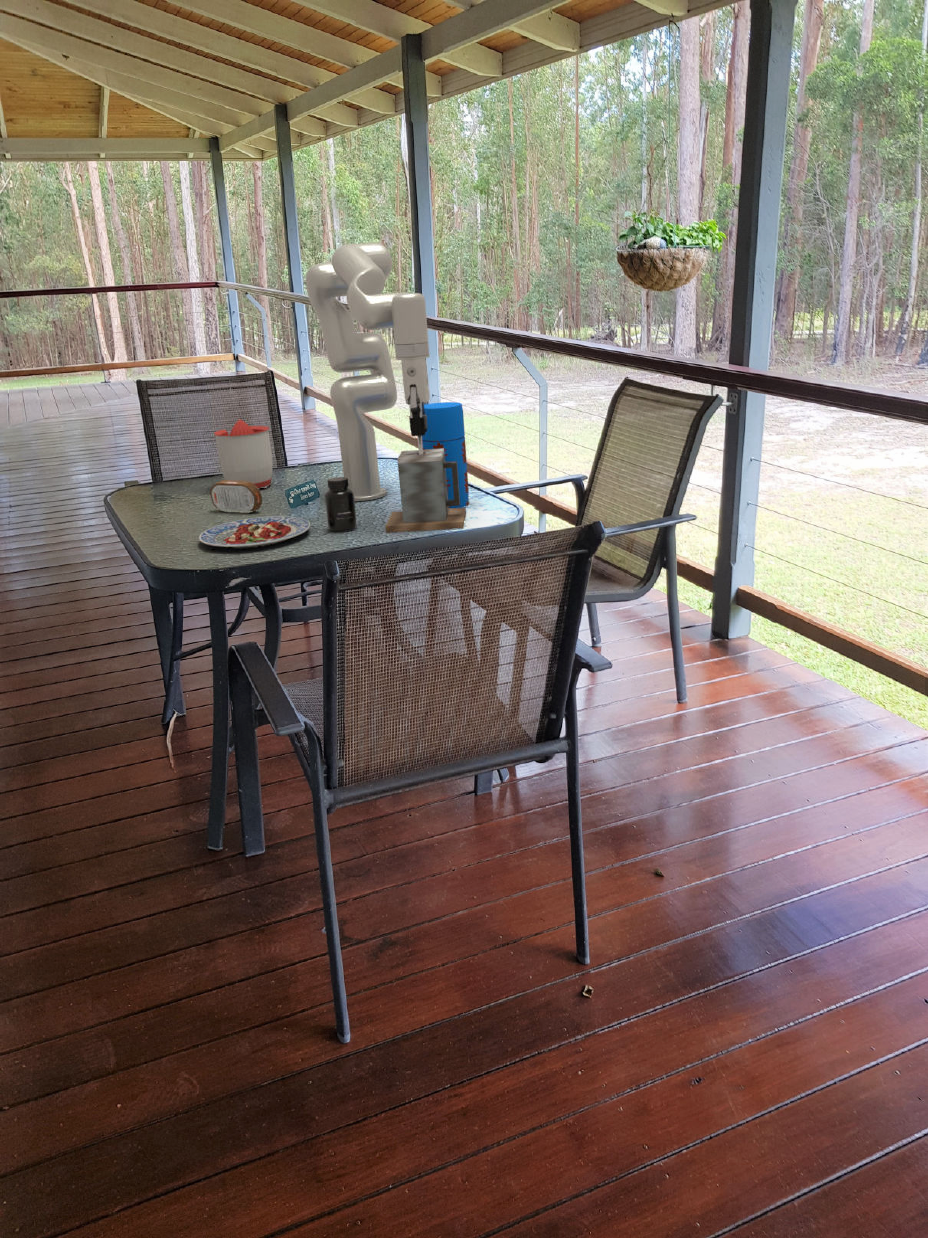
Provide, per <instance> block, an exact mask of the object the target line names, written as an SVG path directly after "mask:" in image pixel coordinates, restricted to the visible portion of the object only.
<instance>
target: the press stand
mask: <svg viewBox="0 0 928 1238" xmlns="http://www.w3.org/2000/svg"><path fill="white" fill-rule="evenodd" d="M396 459H397V460H396V461H397V469H398V470H397V471H398V481H399V483H398V484H399V489H400V490H399V492H400V502H401V510H399V511H392V512H391V513H390V515H389V518H388V520H387V522H386V525H385V527H384V528H385V534H386V533H387V534H389V532H390V533H403V532H402V531H408V532H422V531H439V530H453V529H452V528H461V529H464V527H465V523H464V521H465V522H466V516H467V509H466V508H467V507H463V508H450V509H449V506H459V505H460V496H459V482H458V469H457V461H456V462H452V461H451V462H445V455H444V448H443V449H427V450H423V454H420V455H419V449H416V450H414V449H413V450H412V449H411V450H401V452H400V454H399V455H398V456H397V458H396ZM446 468H452V479H453V492H454V499H453V500H448V494H447V481H446Z"/></svg>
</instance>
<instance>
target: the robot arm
mask: <svg viewBox="0 0 928 1238" xmlns="http://www.w3.org/2000/svg"><path fill="white" fill-rule="evenodd" d="M391 256H392V255H391V253H390V251H389V250H388V248H387V247H386V246H385V245H383V244H381V243H379V242H368V243H367V242H366V243H362V242H361V243H350V244H349V243H347V244H344V245H341V246H339V247H338V248H337V249H336V250H335V251H333V254H332V256H331V261H325V262H320V263H317V264H314V265H311V267H309V269H308V270H307V271H306V276H305V287H306V292H307V297H308V299H309V302H310V305H311V307H312V308H313V311H314V312H315V314H316V317H317V319H318V321H319V324H320V329H321V334H322V336H323V337H322V338H323V343H324V346H325V347H324V348H325V351H326V356H327V360H328V363H329V366H330V368H331V369H332V370H333V371H334V372H335V373H340V374H342V373H344V374H345V373H355V372H362V371H363V372H364V371H369V372H370V374H364V375H363V374H361V375H353V376H347V377H346V376H345V377H342V378H338V379H337V380H336V381H334V382H333V383H332V384H331V386H330V394H329V396H330V401H331V404H332V407H333V411H334V415H335V419H336V425H337V430H338V431H337V432H338V439H339V447H340V448H339V449H340V457H341V466H342V473H343V474H342V475H343V477H345V478H348V484H349V486H348V488H349V489H351V490H352V491H353V493H354V501H355V502H365V501H366V502H367V501H373V500H377V499H380V498H383V497H385V496H386V495H387V494H388V493H387V492H388V491H387V489H386V488H384V487H381V483H380V482H381V481H380V473H379V461H378V453H377V451H378V450H377V441H376V434H375V432H376V431H375V429H374V426H373V424H372V423H371V422H370V421H369V420H368V418H367V417H366V416H365V415H364V414H366V413H371V412H372V413H373V412H379V411H384V410H389V409H392V408H393V407H394V406H395V405H396V403H397V402H398V401H397V400H398V392H397V390H398V389H397V385H396V380H395V374H394V372H393V366H392V362H391V357H390V353H389V352H390V351H389V348H388V345H387V342H386V341H385V338H383V336H382V335H381V334H380V333H377V332H371V331H374V330H375V331H376V330H383V329H384V330H385V329H392V330H393V340H394V350H395V351H394V353H395V360H397V361H400V362H401V371H402V373H401V374H402V385H403V391H404V393H403V394H404V399H405V404H406V405H408V406H409V416H410V421H409V427H410V426H411V430H410V434H411V436H412V437H417V436H424V435H425V432H427V429H425V423H424V417H423V414H424V415H426V414H425V407H424V405H426V404H428V402H429V401H430V399H431V394H430V386H429V376H428V368H427V367H428V366H427V361H426V359H428V358H430V356H431V355H430V347H429V334H428V333H429V331H428V322H427V320H428V319H427V310H426V309H427V307H426V300H425V297H424V295H423V294H422V293H419V292H405V291H403V292H401V291H400V292H387V293H383V291H384V289H385V286H386V280H387V279H388V277H389V276H390V274H391V272H392V269H393V268H392V267H393V259H392V257H391ZM338 297H346V301H347V302H346V303H347V306H348V308H347V307H346V306H345V305H344V304H343V303H342V302H341V301H339V300H338V299H337V298H338ZM353 319H354V320H355V322H357V323H358V325H359V326H360V327H362V328H364V329H366V330H369V332H368V331H366V332H357V331H356V329H355V323H354V320H353Z"/></svg>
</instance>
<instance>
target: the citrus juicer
mask: <svg viewBox="0 0 928 1238" xmlns="http://www.w3.org/2000/svg"><path fill="white" fill-rule="evenodd" d="M269 429H270V427H269V426H266V425H264V426H263V425H250V426H249V425H248V423H246V422H245V421H243V420H242V419H238V420H237V422H236V423H235V424H234V425H233V427H232V428H231V431H230V433H229V432H228V431H227V430H226V429H220V430H217V431H215V432H213V434H214V436H215V441H216V448H217V455H218V461H219V465H220V471H221V473H222V477H223V480H234V481H249V482H251V483H253V484H254V485H256V486H257V488H261V487H265V486H267V485H271V482H272V478H273V477H272V476H273V468H274V467H273V466H274V465H273V454H272V446H271V440H270V433H269V432H270V431H269Z"/></svg>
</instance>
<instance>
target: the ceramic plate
mask: <svg viewBox="0 0 928 1238" xmlns="http://www.w3.org/2000/svg"><path fill="white" fill-rule="evenodd" d="M310 528H311V523H310V521H308V520H306V519H305V518H301V517H295V516H279V515H278V516H277V515H276V516H274V515H273V516H261V517H251V518H245V519H239V520H234V521H229V522H225V523H221V524H219V525H215V526H212V527H210V528H207V529H205V530H204V531H203V532H201V533H200V534H199V536H198V539H199V542H201V543H202V544H205V545H208V546H213V547H225V548H228V547H254V548H257V547H256V546H262V547H265V546H264V545H268V546H270V545H269V544H272V545H276V544H278V542H279V543H282V541H283V542H284V541H287V540H288V539H291V538H295V537H297V536H300V535H302V534H304V533H305V532H307V531H308V530H309V529H310ZM230 531H236V532H234V533H233V535H232V536H230V537H227V538H226V539H225V540H223V541H226V544H225V543H218V542H216V541H217V540H216V539H215V538H217V537H218V536H219V535H220V534H226V533H227V532H230ZM275 543H276V544H275Z"/></svg>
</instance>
